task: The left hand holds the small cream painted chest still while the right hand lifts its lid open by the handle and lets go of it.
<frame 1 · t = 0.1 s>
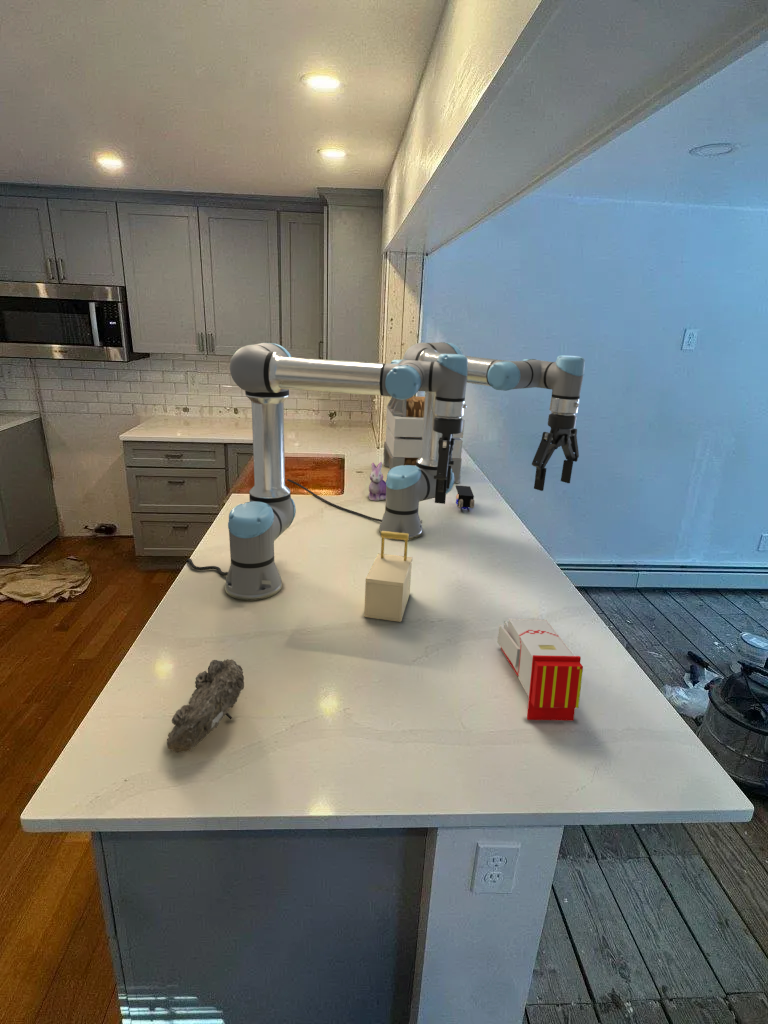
left hand: (442, 495, 153), 28 cm above the counter, tool pointing down, fingers open, 13 cm apart
right hand: (552, 485, 166), 28 cm above the counter, tool pointing down, fingers open, 13 cm apart
figurine character: (463, 508, 229), on the counter
lid: (390, 555, 147), point 14 cm above the counter, hinge at 0.0°
chest: (387, 605, 152), on the counter
fossil: (212, 717, 108), on the counter
transformer: (419, 473, 275), on the counter
toy: (530, 678, 124), on the counter
figurine: (377, 498, 237), on the counter
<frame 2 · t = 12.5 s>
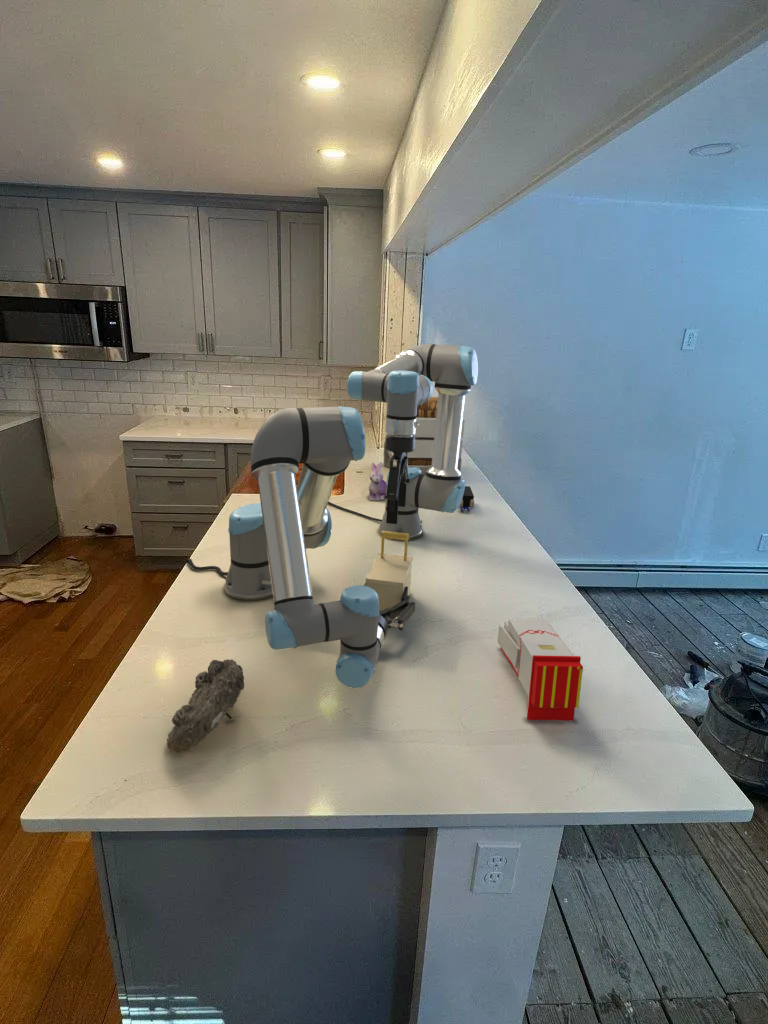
left hand: (386, 588, 146), 7 cm above the counter, tool horizontal, fingers closed on chest, 10 cm apart
right hand: (396, 514, 149), 24 cm above the counter, tool pointing down, fingers open, 13 cm apart
chest: (387, 605, 152), on the counter, touching left hand
everything else where it was.
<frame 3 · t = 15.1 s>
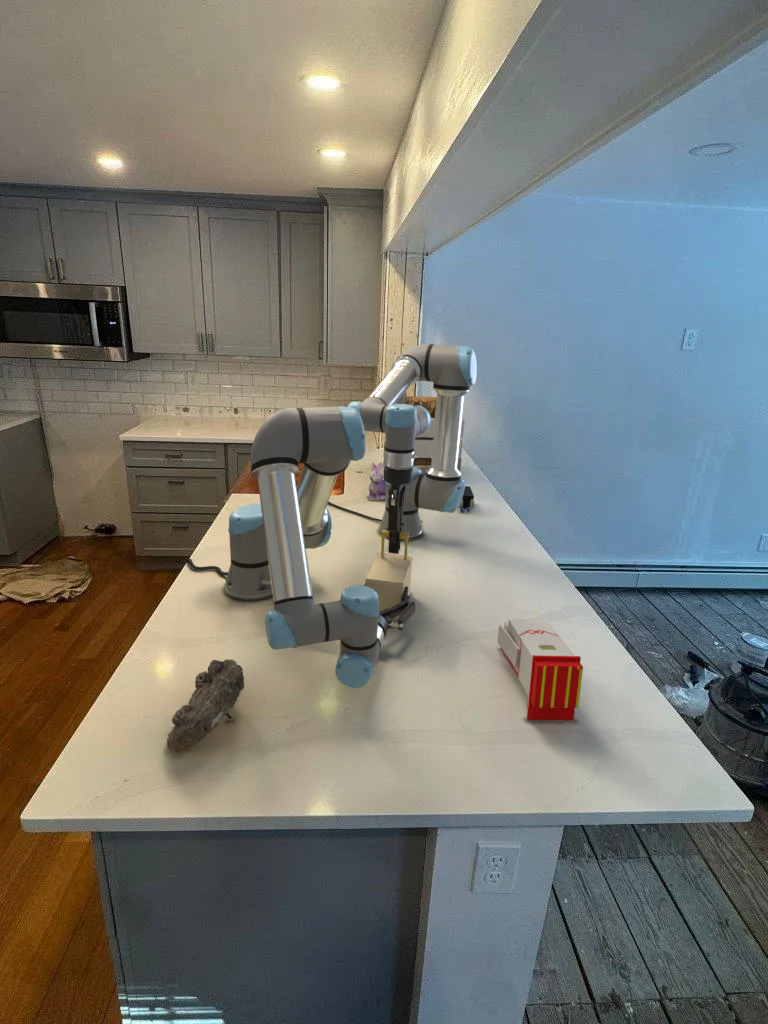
left hand: (386, 588, 146), 7 cm above the counter, tool horizontal, fingers closed on chest, 10 cm apart
right hand: (394, 550, 152), 13 cm above the counter, tool pointing down, fingers closed on lid, 2 cm apart
lid: (390, 555, 147), point 15 cm above the counter, hinge at 1.3°, touching right hand
chest: (388, 605, 152), on the counter, touching left hand
everything else where it was.
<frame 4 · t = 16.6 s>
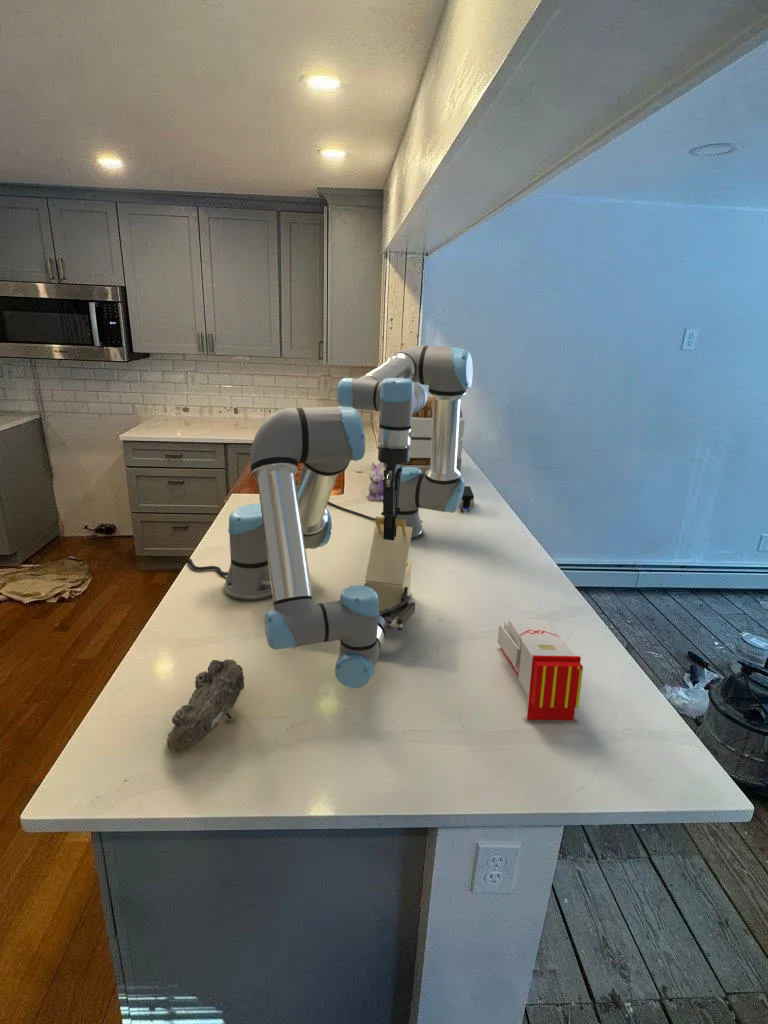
left hand: (386, 589, 146), 7 cm above the counter, tool horizontal, fingers closed on chest, 10 cm apart
right hand: (389, 537, 142), 21 cm above the counter, tool pointing down, fingers closed on lid, 2 cm apart
lid: (387, 547, 141), point 19 cm above the counter, hinge at 41.5°, touching right hand
chest: (387, 605, 152), on the counter, touching left hand
everything else where it was.
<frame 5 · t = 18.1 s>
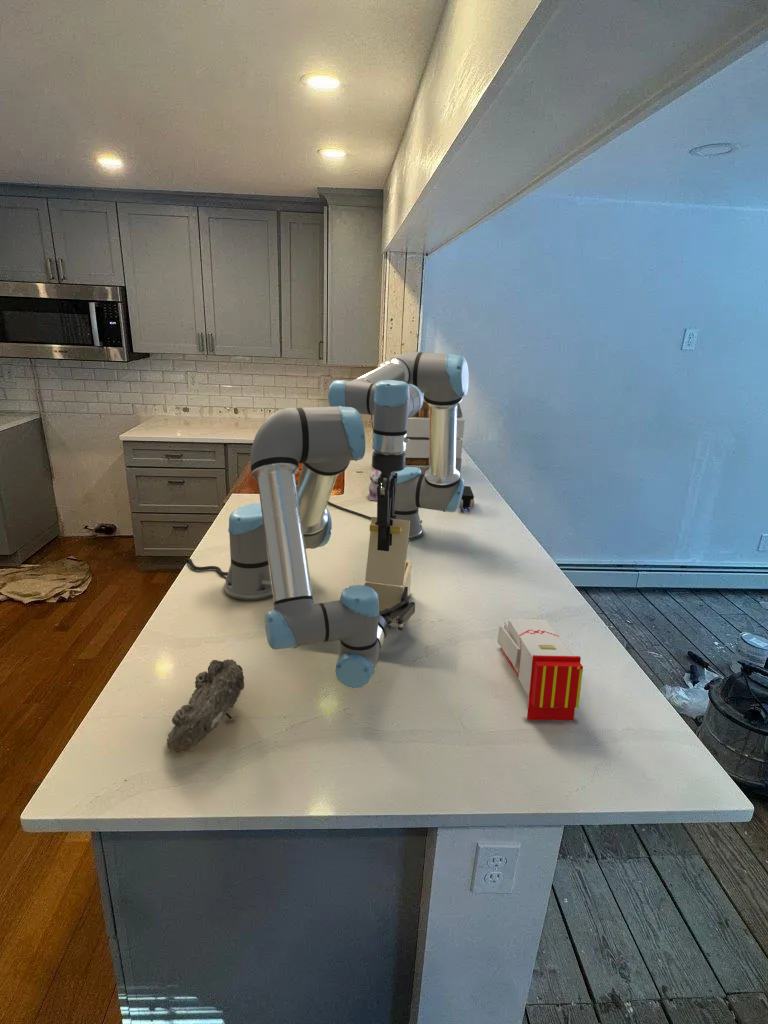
left hand: (386, 589, 146), 7 cm above the counter, tool horizontal, fingers closed on chest, 10 cm apart
right hand: (384, 547, 135), 21 cm above the counter, tool pointing down, fingers open, 3 cm apart
lid: (385, 551, 137), point 19 cm above the counter, hinge at 68.6°
chest: (387, 605, 152), on the counter, touching left hand
everything else where it was.
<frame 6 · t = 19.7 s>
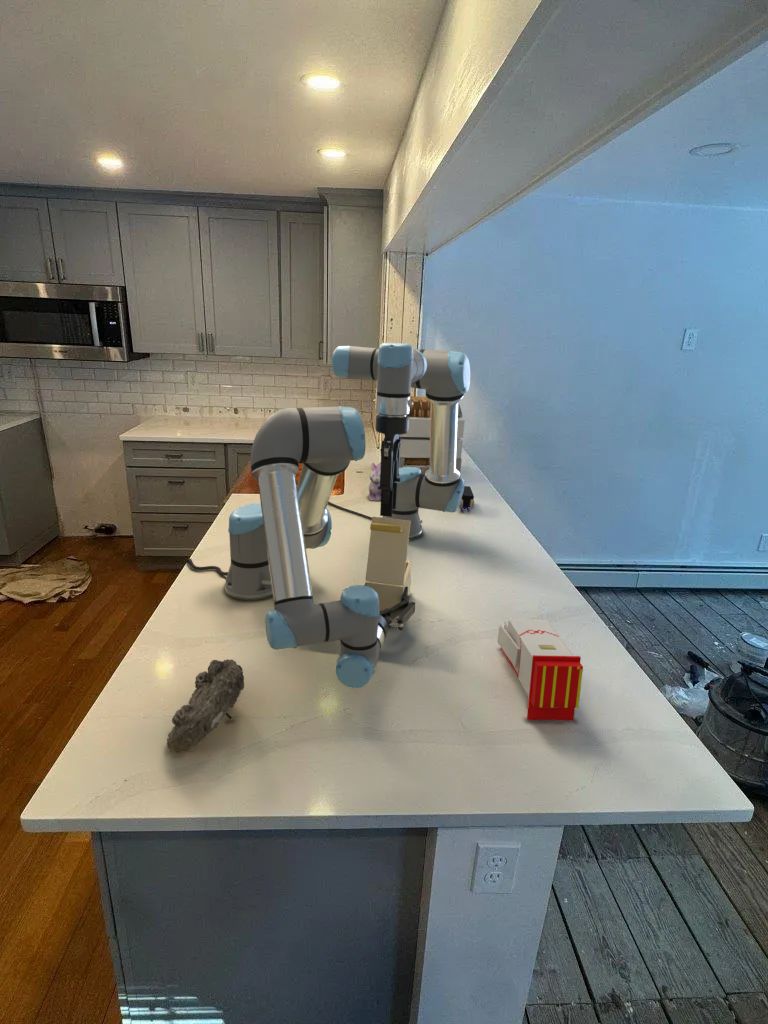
left hand: (386, 588, 146), 7 cm above the counter, tool horizontal, fingers closed on chest, 10 cm apart
right hand: (388, 511, 135), 29 cm above the counter, tool pointing down, fingers open, 5 cm apart
lid: (385, 550, 138), point 19 cm above the counter, hinge at 66.6°
chest: (388, 604, 152), on the counter, touching left hand
everything else where it was.
when the left hand's fingers open (7 cm above the counter, at t = 22.4 s): chest stays where it is, on the counter.
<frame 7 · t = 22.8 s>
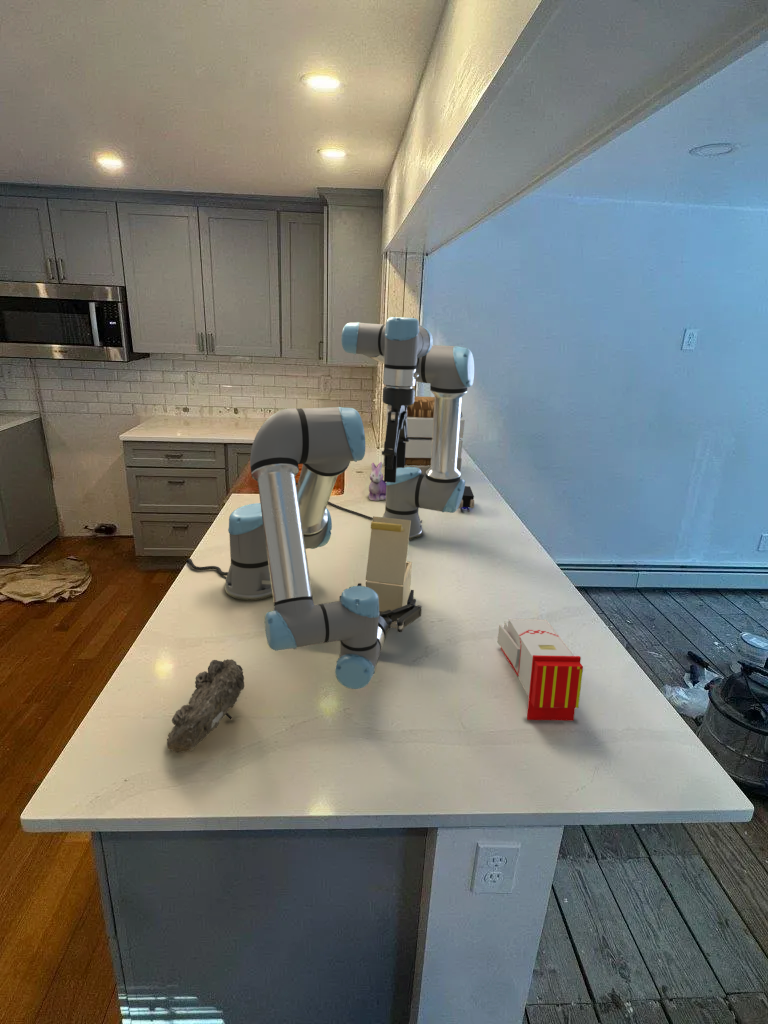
left hand: (385, 591, 145), 7 cm above the counter, tool horizontal, fingers open, 13 cm apart
right hand: (394, 474, 140), 36 cm above the counter, tool pointing down, fingers open, 13 cm apart
lid: (385, 549, 138), point 19 cm above the counter, hinge at 65.7°
chest: (388, 605, 152), on the counter
everything else where it was.
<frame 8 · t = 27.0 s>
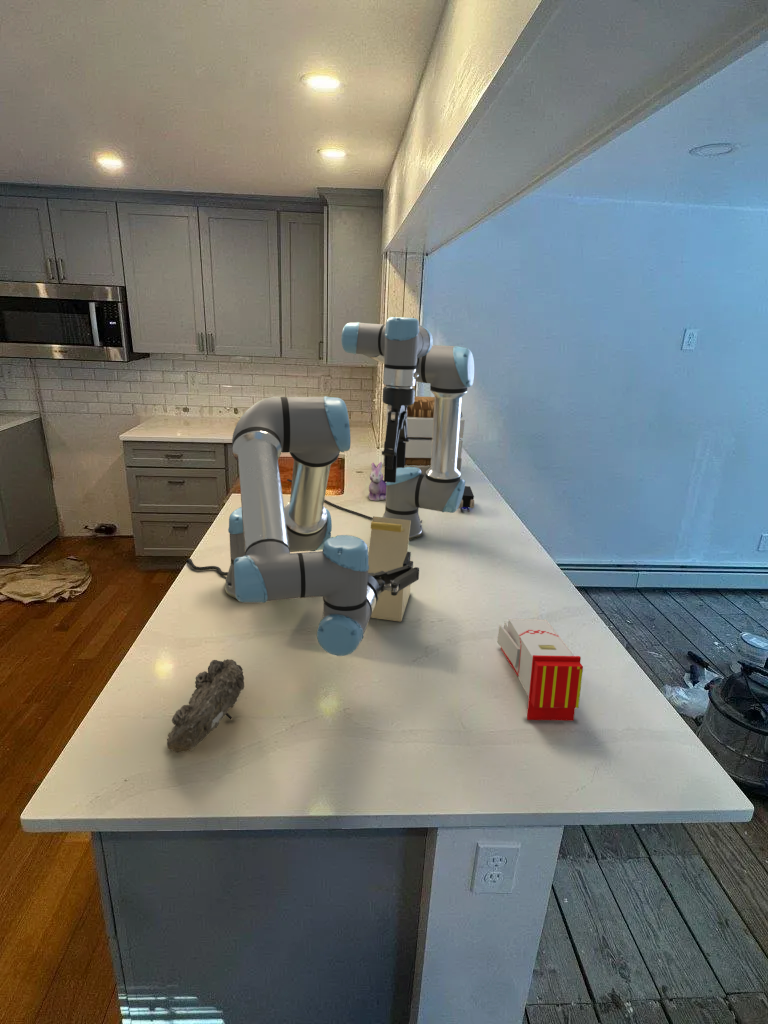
left hand: (379, 553, 128), 22 cm above the counter, tool horizontal, fingers open, 13 cm apart
right hand: (394, 474, 140), 36 cm above the counter, tool pointing down, fingers open, 13 cm apart
nothing on the counter moved.
at the end: lid at +66° (first picture: +0°); the left hand is holding nothing; the right hand is holding nothing; chest tilted 0°; chest never tilted more than 1° during the clip; chest moved 0.1 cm from its start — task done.
